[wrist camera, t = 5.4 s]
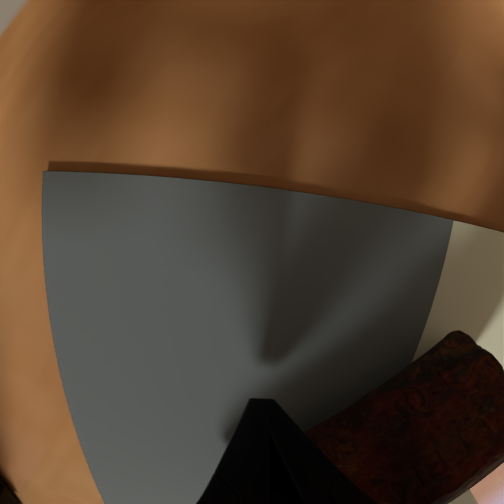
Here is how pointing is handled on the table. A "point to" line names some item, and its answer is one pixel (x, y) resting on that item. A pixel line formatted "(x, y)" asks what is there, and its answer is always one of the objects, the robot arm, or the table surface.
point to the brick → (423, 427)
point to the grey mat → (239, 312)
